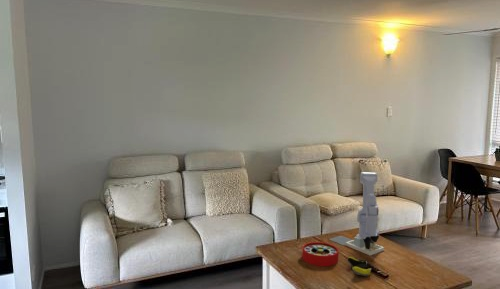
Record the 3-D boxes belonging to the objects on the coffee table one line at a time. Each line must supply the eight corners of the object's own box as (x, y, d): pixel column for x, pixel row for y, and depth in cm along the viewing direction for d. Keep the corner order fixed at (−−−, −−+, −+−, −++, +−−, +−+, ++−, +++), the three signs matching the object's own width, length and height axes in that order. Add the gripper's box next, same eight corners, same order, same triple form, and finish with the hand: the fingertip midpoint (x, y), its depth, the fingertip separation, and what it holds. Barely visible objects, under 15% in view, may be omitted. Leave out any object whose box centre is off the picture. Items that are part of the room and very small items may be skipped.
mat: (341, 236, 246) (341, 235, 246) (355, 242, 236) (356, 241, 236) (328, 240, 239) (328, 239, 239) (343, 246, 229) (343, 245, 229)
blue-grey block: (358, 243, 232) (358, 235, 232) (364, 246, 229) (364, 238, 228) (353, 245, 230) (354, 237, 229) (359, 247, 226) (360, 239, 225)
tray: (345, 246, 229) (345, 242, 229) (359, 241, 237) (359, 237, 237) (370, 256, 215) (370, 252, 215) (383, 251, 222) (384, 247, 222)
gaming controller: (352, 278, 189) (372, 279, 188) (353, 268, 188) (373, 268, 188) (346, 265, 204) (365, 265, 203) (346, 255, 203) (365, 256, 203)
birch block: (369, 247, 226) (369, 239, 225) (375, 250, 222) (376, 242, 222) (364, 249, 223) (364, 241, 223) (370, 252, 220) (371, 243, 219)
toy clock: (321, 259, 197) (295, 247, 213) (321, 270, 198) (294, 256, 214) (346, 250, 209) (319, 239, 225) (345, 260, 210) (319, 248, 226)
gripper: (369, 230, 213) (368, 252, 215) (384, 225, 222) (383, 247, 223) (359, 226, 219) (358, 248, 221) (374, 222, 227) (373, 243, 229)
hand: (370, 247), depth 223 cm, fingers closed on birch block, 4 cm apart
